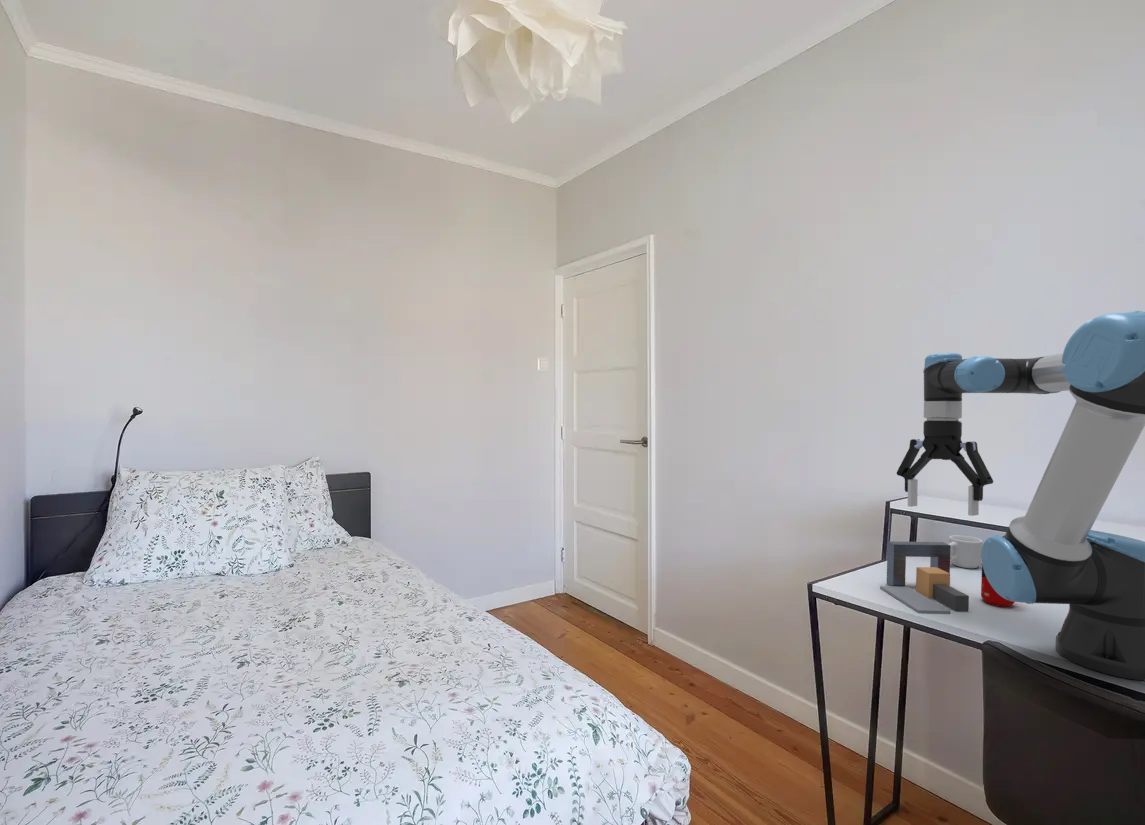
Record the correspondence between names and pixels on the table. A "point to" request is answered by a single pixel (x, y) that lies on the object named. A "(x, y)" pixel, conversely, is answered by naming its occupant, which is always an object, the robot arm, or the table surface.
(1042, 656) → the table surface
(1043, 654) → the table surface
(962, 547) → the cup
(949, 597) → the plug
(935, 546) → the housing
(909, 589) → the mat
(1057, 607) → the table surface
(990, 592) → the beverage can
